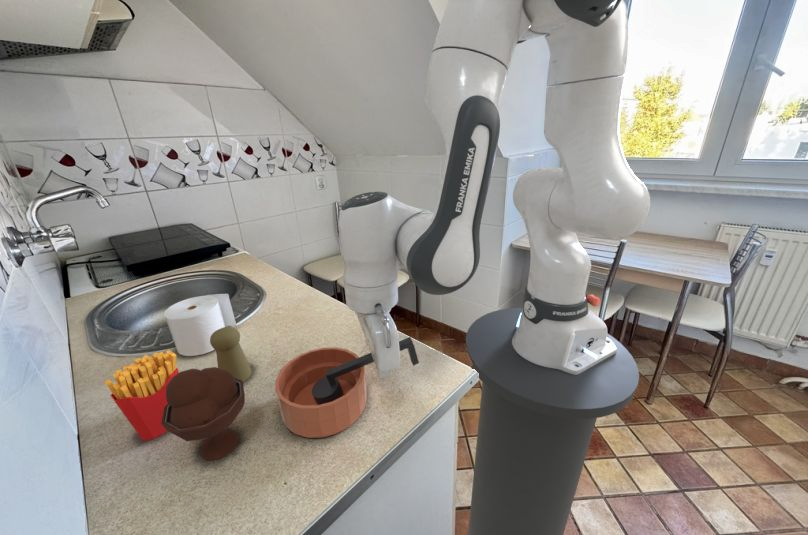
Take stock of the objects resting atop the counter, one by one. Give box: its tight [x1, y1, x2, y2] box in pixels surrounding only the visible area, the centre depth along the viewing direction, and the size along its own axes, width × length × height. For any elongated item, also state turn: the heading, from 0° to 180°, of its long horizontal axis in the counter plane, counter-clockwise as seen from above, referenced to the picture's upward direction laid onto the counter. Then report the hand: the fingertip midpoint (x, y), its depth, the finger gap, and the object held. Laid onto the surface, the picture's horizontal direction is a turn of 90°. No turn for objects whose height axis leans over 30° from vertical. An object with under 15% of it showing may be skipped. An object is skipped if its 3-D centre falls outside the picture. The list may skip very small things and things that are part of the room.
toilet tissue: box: [163, 293, 237, 357], centre depth 76 cm, size 11×12×10 cm
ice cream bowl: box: [161, 366, 246, 462], centre depth 49 cm, size 11×11×15 cm
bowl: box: [274, 346, 368, 439], centre depth 58 cm, size 15×15×7 cm
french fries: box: [104, 349, 180, 442], centre depth 54 cm, size 9×4×13 cm, turn 144°
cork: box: [210, 326, 253, 383], centre depth 65 cm, size 6×6×11 cm
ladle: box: [312, 336, 420, 405], centre depth 59 cm, size 20×5×6 cm, turn 108°
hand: (376, 358), depth 59 cm, fingers open, 8 cm apart
